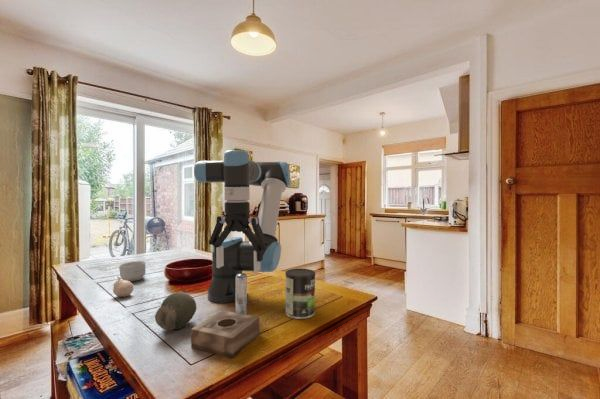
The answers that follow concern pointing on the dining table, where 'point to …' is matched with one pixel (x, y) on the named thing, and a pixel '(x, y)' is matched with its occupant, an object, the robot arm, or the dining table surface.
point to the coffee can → (300, 293)
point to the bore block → (225, 333)
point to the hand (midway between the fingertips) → (238, 269)
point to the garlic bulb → (122, 288)
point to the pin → (241, 294)
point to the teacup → (132, 270)
